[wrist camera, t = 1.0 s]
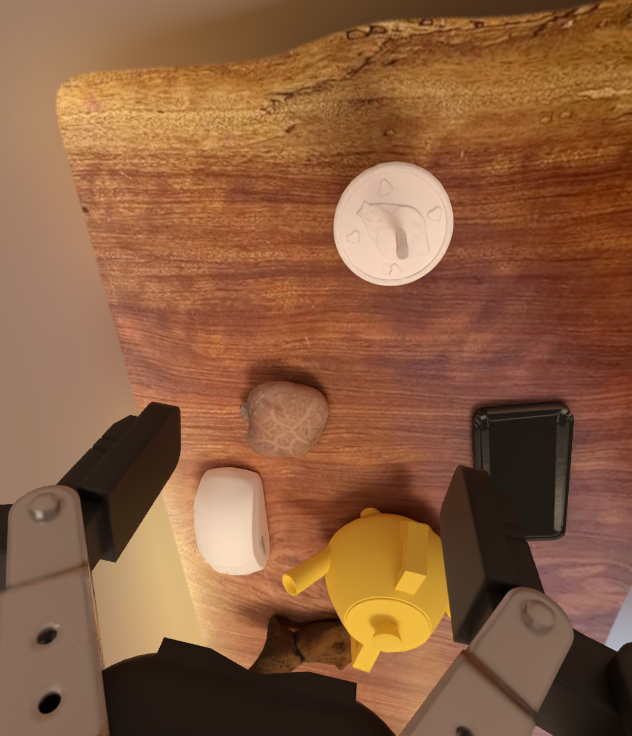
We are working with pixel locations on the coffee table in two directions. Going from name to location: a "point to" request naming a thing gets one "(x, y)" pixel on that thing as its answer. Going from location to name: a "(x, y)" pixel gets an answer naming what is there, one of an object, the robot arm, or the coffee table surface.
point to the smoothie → (393, 223)
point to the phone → (528, 461)
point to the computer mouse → (232, 521)
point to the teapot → (380, 583)
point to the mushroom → (284, 418)
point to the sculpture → (303, 647)
